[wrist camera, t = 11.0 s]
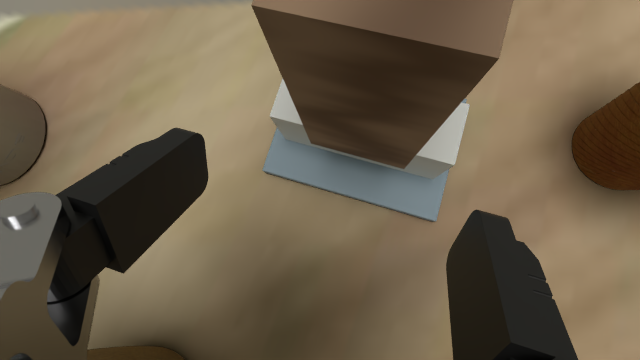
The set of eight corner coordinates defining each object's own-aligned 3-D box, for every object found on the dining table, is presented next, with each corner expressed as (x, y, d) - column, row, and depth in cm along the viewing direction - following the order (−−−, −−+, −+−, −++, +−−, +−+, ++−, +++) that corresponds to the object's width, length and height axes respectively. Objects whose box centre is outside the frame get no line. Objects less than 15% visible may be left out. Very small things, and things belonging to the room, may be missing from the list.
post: (310, 143, 19) (251, 5, 8) (338, 59, 20) (322, -183, 8) (404, 169, 19) (499, 58, 7) (428, 80, 19) (551, -157, 8)
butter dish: (265, 172, 26) (240, 154, 20) (301, 66, 27) (288, 19, 21) (432, 221, 24) (459, 218, 18) (462, 104, 25) (496, 64, 19)
